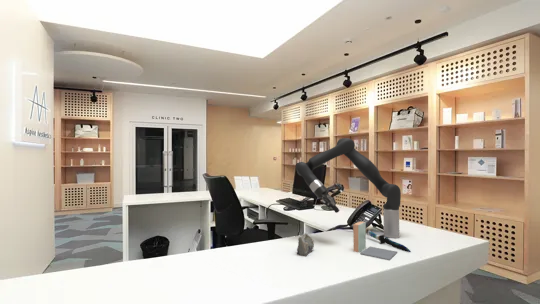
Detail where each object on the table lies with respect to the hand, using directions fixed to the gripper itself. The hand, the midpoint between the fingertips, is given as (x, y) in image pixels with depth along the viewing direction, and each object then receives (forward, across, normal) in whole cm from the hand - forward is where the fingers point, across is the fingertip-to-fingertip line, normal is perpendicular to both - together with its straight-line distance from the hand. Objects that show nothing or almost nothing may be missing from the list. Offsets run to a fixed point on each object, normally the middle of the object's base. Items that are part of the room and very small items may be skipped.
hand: (338, 211), depth 154 cm
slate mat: (+29, 0, -3) cm, 29 cm away
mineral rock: (+8, -22, +19) cm, 30 cm away
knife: (+28, +18, -2) cm, 34 cm away
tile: (+22, 0, +4) cm, 22 cm away
